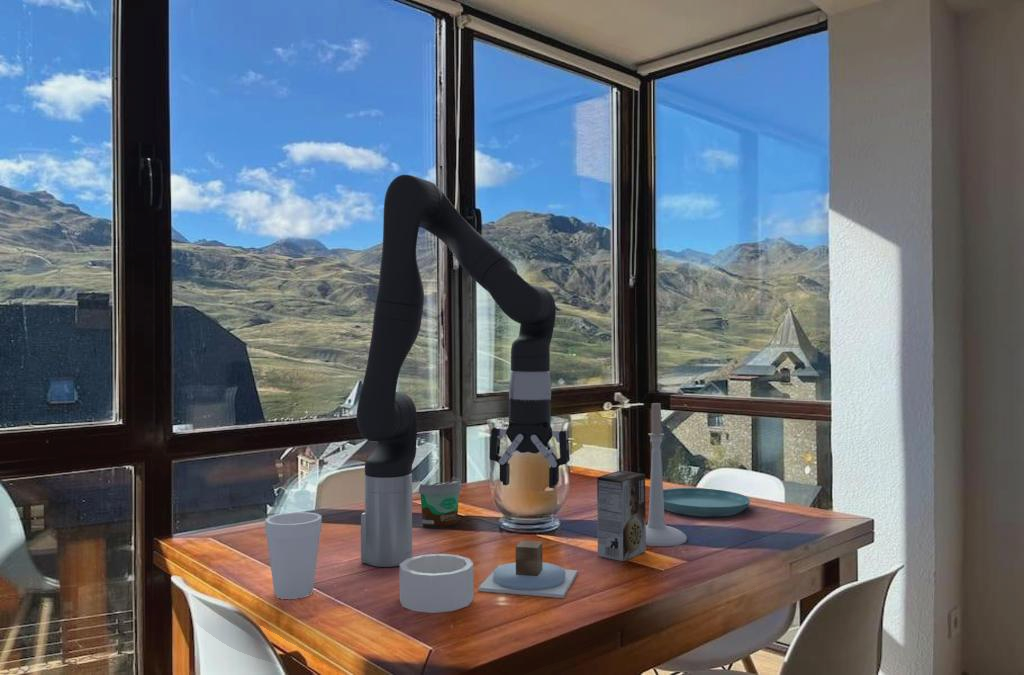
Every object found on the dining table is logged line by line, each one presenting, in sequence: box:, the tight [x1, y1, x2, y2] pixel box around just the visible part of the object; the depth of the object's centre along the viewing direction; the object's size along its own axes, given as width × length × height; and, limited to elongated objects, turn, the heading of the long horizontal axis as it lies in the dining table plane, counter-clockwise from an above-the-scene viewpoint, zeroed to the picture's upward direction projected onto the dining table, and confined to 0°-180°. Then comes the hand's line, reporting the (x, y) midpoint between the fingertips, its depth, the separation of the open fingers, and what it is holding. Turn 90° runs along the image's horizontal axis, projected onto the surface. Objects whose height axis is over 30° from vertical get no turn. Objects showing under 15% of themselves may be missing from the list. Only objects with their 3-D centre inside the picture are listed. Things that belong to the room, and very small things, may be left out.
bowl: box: [399, 553, 475, 614], centre depth 130 cm, size 12×12×6 cm
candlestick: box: [646, 402, 688, 547], centre depth 169 cm, size 13×13×30 cm
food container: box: [418, 476, 463, 528], centre depth 182 cm, size 12×6×10 cm, turn 143°
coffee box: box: [596, 470, 647, 562], centre depth 157 cm, size 9×6×16 cm
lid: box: [492, 540, 565, 591], centre depth 139 cm, size 13×13×6 cm
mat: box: [478, 564, 578, 599], centre depth 139 cm, size 15×14×1 cm
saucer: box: [663, 487, 751, 518], centre depth 199 cm, size 24×24×3 cm
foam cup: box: [264, 511, 323, 600], centre depth 133 cm, size 10×9×13 cm
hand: (529, 486), depth 139 cm, fingers open, 8 cm apart
